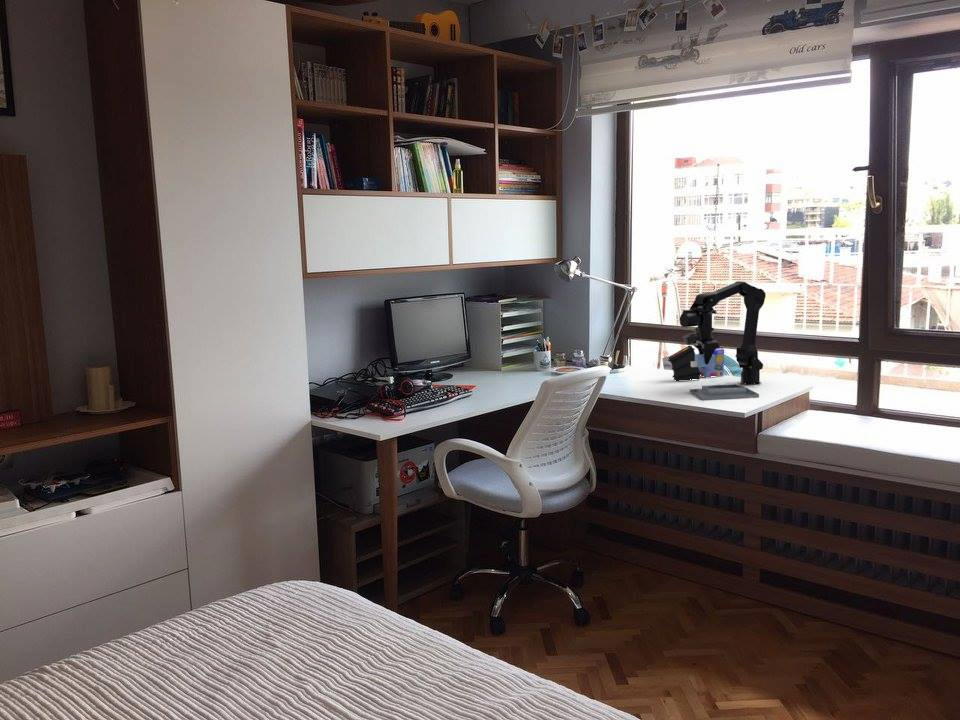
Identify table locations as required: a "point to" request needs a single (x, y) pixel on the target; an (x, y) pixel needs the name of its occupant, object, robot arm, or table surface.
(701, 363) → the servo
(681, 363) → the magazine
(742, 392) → the chassis
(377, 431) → the table surface
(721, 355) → the ink cartridge box
